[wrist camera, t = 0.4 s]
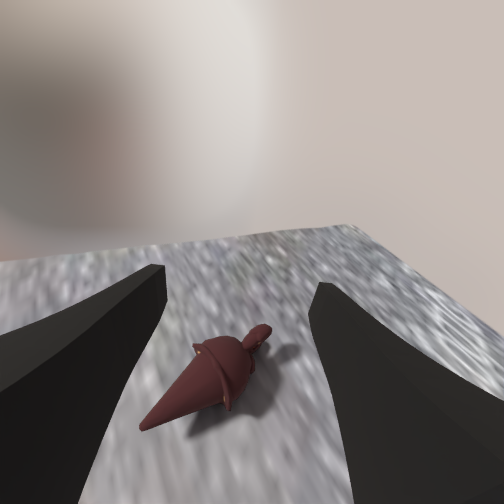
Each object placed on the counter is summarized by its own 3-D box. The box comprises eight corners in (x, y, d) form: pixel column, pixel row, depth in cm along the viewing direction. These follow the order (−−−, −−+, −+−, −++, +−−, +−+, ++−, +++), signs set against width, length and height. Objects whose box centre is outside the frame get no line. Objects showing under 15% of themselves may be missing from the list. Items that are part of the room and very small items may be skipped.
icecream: (152, 484, 13) (297, 350, 22) (117, 377, 16) (255, 297, 25) (159, 475, 18) (275, 368, 27) (131, 394, 21) (243, 322, 30)
